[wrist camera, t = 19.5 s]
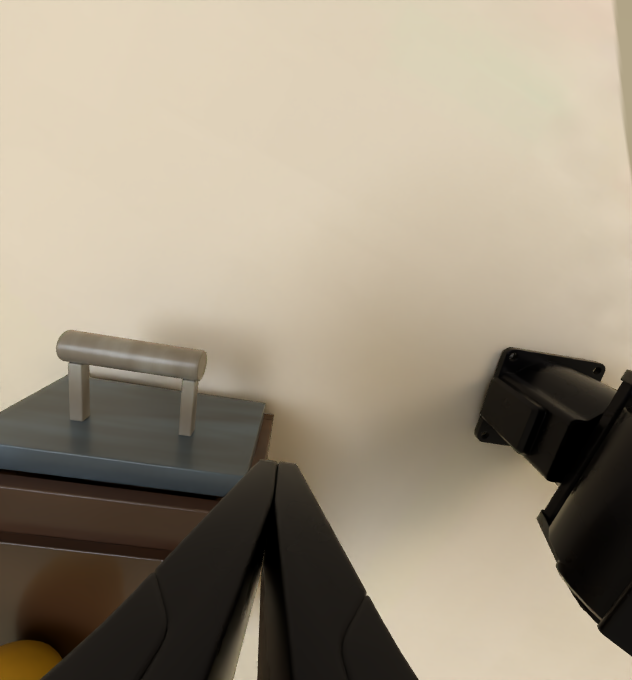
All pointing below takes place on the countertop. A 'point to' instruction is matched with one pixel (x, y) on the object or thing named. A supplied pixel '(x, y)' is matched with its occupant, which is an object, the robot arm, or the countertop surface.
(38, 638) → the dark brown shallow tray
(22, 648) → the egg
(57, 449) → the drawer
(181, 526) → the cabinet
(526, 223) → the countertop surface
